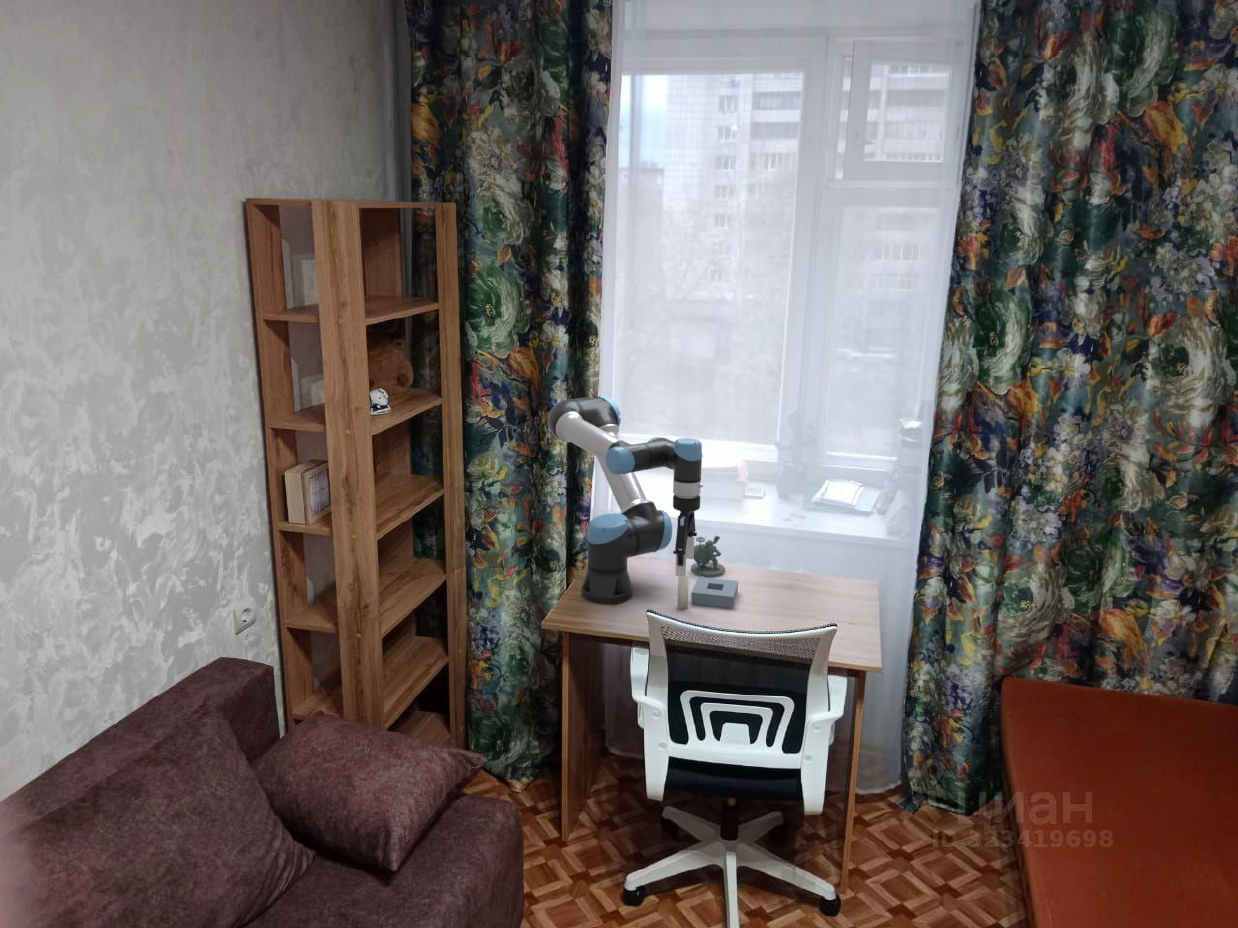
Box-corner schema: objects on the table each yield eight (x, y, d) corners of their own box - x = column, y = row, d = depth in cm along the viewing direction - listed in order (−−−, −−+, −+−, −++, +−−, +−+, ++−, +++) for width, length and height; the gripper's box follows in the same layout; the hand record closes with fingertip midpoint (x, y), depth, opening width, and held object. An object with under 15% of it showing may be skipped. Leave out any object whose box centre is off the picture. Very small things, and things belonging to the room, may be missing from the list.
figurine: (729, 576, 286) (731, 539, 282) (696, 578, 283) (697, 542, 280) (718, 563, 296) (719, 528, 292) (686, 565, 293) (687, 530, 290)
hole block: (691, 603, 265) (691, 592, 264) (697, 587, 276) (698, 576, 276) (732, 608, 263) (733, 596, 262) (737, 591, 274) (738, 580, 273)
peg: (676, 608, 262) (677, 575, 259) (678, 604, 265) (679, 571, 262) (686, 609, 261) (688, 577, 258) (688, 605, 264) (689, 573, 261)
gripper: (693, 509, 241) (690, 584, 247) (706, 483, 265) (704, 552, 270) (664, 506, 243) (663, 581, 248) (681, 481, 266) (679, 550, 272)
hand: (684, 566), depth 259 cm, fingers open, 13 cm apart
